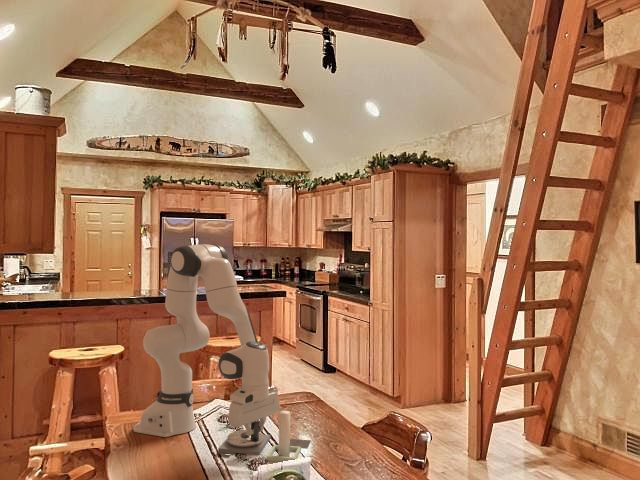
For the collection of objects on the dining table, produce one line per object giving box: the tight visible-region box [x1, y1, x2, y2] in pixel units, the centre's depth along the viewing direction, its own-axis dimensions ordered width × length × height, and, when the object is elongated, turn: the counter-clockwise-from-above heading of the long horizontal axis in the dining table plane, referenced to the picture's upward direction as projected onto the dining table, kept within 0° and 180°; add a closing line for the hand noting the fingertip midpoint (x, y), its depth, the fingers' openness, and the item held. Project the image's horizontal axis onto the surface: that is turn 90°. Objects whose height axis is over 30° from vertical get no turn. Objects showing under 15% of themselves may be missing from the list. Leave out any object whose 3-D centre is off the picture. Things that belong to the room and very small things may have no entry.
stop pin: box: [278, 410, 291, 457], centre depth 160 cm, size 4×4×14 cm
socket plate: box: [290, 438, 312, 449], centre depth 170 cm, size 7×7×1 cm
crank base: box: [217, 434, 271, 456], centre depth 168 cm, size 14×14×2 cm
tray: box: [266, 444, 302, 462], centre depth 160 cm, size 9×9×2 cm
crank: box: [226, 420, 264, 448], centre depth 168 cm, size 12×12×8 cm
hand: (255, 432), depth 165 cm, fingers open, 3 cm apart
